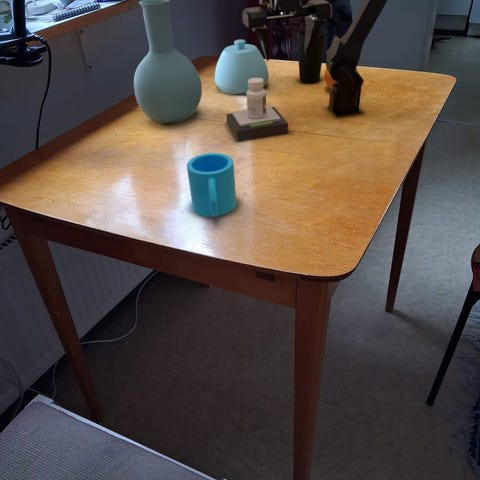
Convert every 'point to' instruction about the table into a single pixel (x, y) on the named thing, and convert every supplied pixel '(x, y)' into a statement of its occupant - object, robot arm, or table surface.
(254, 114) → the pill bottle
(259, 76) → the sugar bowl
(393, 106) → the table surface
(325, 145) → the table surface
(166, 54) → the vase
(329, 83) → the fruit
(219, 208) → the mug
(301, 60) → the cup
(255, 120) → the scale
